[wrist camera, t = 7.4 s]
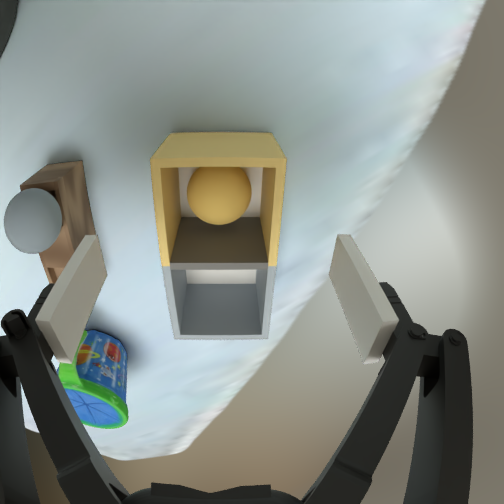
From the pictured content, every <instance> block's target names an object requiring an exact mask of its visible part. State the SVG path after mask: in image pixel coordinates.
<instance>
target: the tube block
mask: <svg viewBox="0 0 504 504" xmlns="http://www.w3.org/2000/svg"><path fill="white" fill-rule="evenodd" d="M286 161H287V158H286V157H285V155H284V153H283V152H282V150H281V148H280V146H279V145H278V143H277V141H276V140H275V138H274V136H273V135H272V133H268V132H174V133H170V134H169V136H168V137H167V138H166V139H165V141H164V142H163V143H162V144H161V146H160V147H159V148H158V149H157V151H156V152H155V153H154V155H153V156H152V157H151V158H150V165H151V177H152V188H153V199H154V208H155V217H156V226H157V234H158V242H159V250H160V257H161V264H162V271H163V277H164V284H165V290H166V296H167V302H168V308H169V313H170V319H171V324H172V330H173V335H174V339H184V340H249V339H268V336H269V327H270V319H271V310H272V302H273V293H274V284H275V274H276V265H277V256H278V246H279V236H280V226H281V216H282V205H283V195H284V184H285V173H286ZM199 167H240V168H241V169H242V170H243V171H244V172H245V173H246V175H247V176H248V178H249V181H250V184H251V189H252V195H251V201H250V204H249V206H248V208H247V210H246V211H245V212H244V214H243V215H242V216H241V217H240V218H238V219H237V220H235V221H233V222H231V223H228V224H224V225H214V224H210V223H207V222H205V221H203V220H201V219H200V218H198V217H197V216H196V215H195V214H194V213H193V211H192V210H191V208H190V206H189V204H188V200H187V186H188V182H189V180H190V178H191V176H192V174H193V173H194V172H195V171H196V170H197V169H198V168H199Z"/></svg>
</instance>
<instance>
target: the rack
mask: <svg viewBox="0 0 504 504" xmlns="http://www.w3.org/2000/svg"><path fill="white" fill-rule="evenodd" d="M30 188H38V189H42V190H45V191H47V192H48V193H50V194H51V195H52V196H53V197H54V198H55V199H56V201H57V202H58V204H59V207H60V210H61V214H62V226H61V230H60V233H59V236H58V238H57V239H56V241H55V242H54V243H53V244H52V245H51V246H50V247H49V248H48V249H46V250H45V251H42V252H40V253H39V256H40V258H41V261H42V264H43V267H44V270H45V272H46V275H47V278H48V280H49V283H54V284H55V283H56V281H57V280H58V278H59V276H60V275H61V273H62V271H63V270H64V268H65V266H66V265H67V263H68V262H69V260H70V258H71V257H72V255H73V254H74V252H75V250H76V249H77V247H78V246H79V244H80V243H81V241H82V240H83V238H84V237H85V235H96V233H95V228H94V224H93V219H92V214H91V209H90V204H89V199H88V193H87V187H86V181H85V175H84V169H83V162H82V161H74V162H65V163H57V164H49V165H46V166H45V167H43V168H42V169H41V170H39V171H38V172H37V173H35V174H34V175H33V176H31V177H30V178H29V179H28V180H26V181H25V182H24V183H22V184H21V185H20V189H21V191H23V190H26V189H30Z"/></svg>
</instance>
